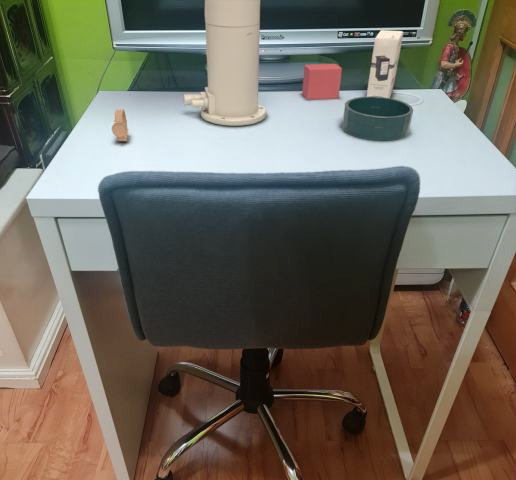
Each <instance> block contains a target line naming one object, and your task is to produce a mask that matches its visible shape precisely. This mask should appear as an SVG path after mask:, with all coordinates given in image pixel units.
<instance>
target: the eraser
mask: <svg viewBox="0 0 516 480" xmlns="http://www.w3.org/2000/svg"><path fill="white" fill-rule="evenodd" d="M342 71H343V68H342V67H341V66H340V65H339V64H337V63H313V64H312V63H311V64H304V66H303V80H302V94H301V95H303V97H304V98H305V99H306V100H308V101H309V100H331V99H332V100H333V99H339V98H340V88H341V80H342V73H343V72H342Z"/></svg>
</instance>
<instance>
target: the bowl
mask: <svg viewBox="0 0 516 480" xmlns="http://www.w3.org/2000/svg"><path fill="white" fill-rule="evenodd" d="M343 110H344V111H343V116H342V127H341V128H342V130H343V131H344V132H345V133H347V134H348V135H350V136H352V137H356V138H358V139H363V140H367V141H376V142H377V141H378V142H389V141H396V140H400V139H403V138H405V137H407V135H409V130H410V128H411V123H412V118H413V114H414V108H413V106H411V105H410V104H409V103H407V102H405V101H402V100H401V99H396V98H392V97H390V98H385V97H373V96H368V97H367V96H359V97H354V98H350V99H348V100H347V101H346V102H345V103H344V109H343Z"/></svg>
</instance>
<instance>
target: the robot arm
mask: <svg viewBox="0 0 516 480" xmlns="http://www.w3.org/2000/svg"><path fill="white" fill-rule="evenodd" d="M204 23H205V46H206V50H205V51H206V72H207V86H205V87H204V91H200V92H199V93H197V94H196V93H195V94H194V93H184V94H183V103H184V106H191V108H200V116H201V118H202V119H203V120H205V121H206V122H208V123H211V124H215V125H220V126H230V127H238V126H239V127H240V126H249V125H254V124H257V123H260V122H262V121H263V120H264V119H266V117H267V109H266V108H265V106H263V105H262V104H260V103H259V85H260V84H259V78H260V77H259V76H260V36H261V35H260V32H261V31H260V30H261V29H260V28H261V0H204Z"/></svg>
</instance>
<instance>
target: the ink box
mask: <svg viewBox="0 0 516 480" xmlns="http://www.w3.org/2000/svg"><path fill="white" fill-rule="evenodd" d="M403 37H404V31H402V30H386V29H384V30H383V29H381V30H379V32H378V33H377V35H375V37H374V42H373V49H372V56H371V61H370V62H371V63H370V70H369V76H368V84H367V91H366V97H368V96H373V97H385V98H391V96H392V94H393V91H394V86H395V81H396V75H397V70H398V64H399V59H400V54H401V48H402V43H403Z"/></svg>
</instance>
